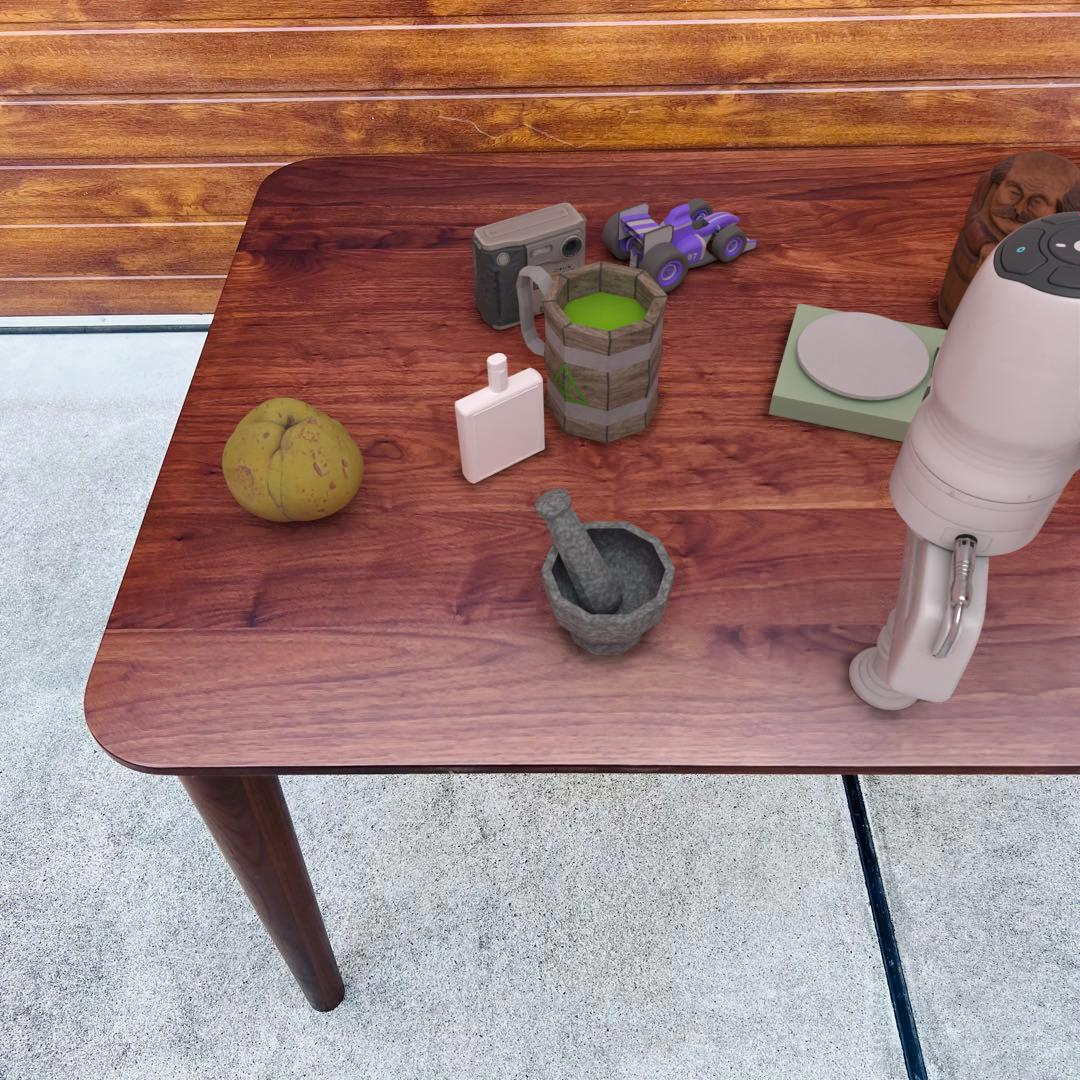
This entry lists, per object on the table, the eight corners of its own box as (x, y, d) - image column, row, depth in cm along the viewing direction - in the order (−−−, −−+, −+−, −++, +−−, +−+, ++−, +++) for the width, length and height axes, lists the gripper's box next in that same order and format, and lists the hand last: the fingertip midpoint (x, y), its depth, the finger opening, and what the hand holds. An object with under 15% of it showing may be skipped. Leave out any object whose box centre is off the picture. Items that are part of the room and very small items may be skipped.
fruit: (264, 574, 83) (232, 493, 76) (224, 482, 90) (191, 399, 82) (388, 524, 86) (370, 442, 79) (341, 439, 93) (320, 356, 85)
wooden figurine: (917, 322, 102) (973, 157, 88) (942, 290, 105) (999, 125, 91) (1034, 366, 97) (1112, 199, 83) (1056, 331, 100) (1134, 165, 86)
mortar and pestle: (690, 613, 80) (706, 514, 70) (625, 696, 75) (632, 602, 66) (574, 549, 84) (575, 448, 75) (506, 624, 80) (497, 526, 70)
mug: (682, 399, 95) (694, 295, 86) (608, 460, 91) (612, 357, 81) (559, 329, 102) (558, 226, 93) (484, 382, 98) (475, 279, 88)
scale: (946, 351, 99) (957, 322, 96) (934, 448, 91) (945, 420, 88) (793, 323, 102) (799, 294, 99) (768, 414, 94) (774, 385, 91)
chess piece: (917, 655, 77) (952, 585, 70) (923, 717, 73) (960, 649, 66) (846, 647, 77) (873, 577, 70) (849, 708, 74) (878, 640, 67)
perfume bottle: (472, 486, 89) (460, 384, 80) (460, 473, 90) (447, 370, 81) (547, 449, 92) (544, 346, 82) (535, 436, 93) (531, 333, 83)
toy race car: (764, 255, 109) (773, 202, 104) (649, 301, 105) (653, 247, 100) (711, 213, 115) (718, 160, 110) (600, 255, 110) (602, 202, 105)
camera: (491, 336, 102) (484, 252, 94) (470, 304, 105) (462, 220, 98) (592, 305, 105) (594, 221, 97) (568, 275, 108) (568, 191, 100)
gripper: (1025, 637, 51) (943, 761, 62) (1035, 379, 64) (965, 520, 74) (899, 605, 53) (840, 732, 63) (932, 359, 65) (878, 500, 76)
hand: (908, 616), depth 69 cm, fingers open, 8 cm apart
